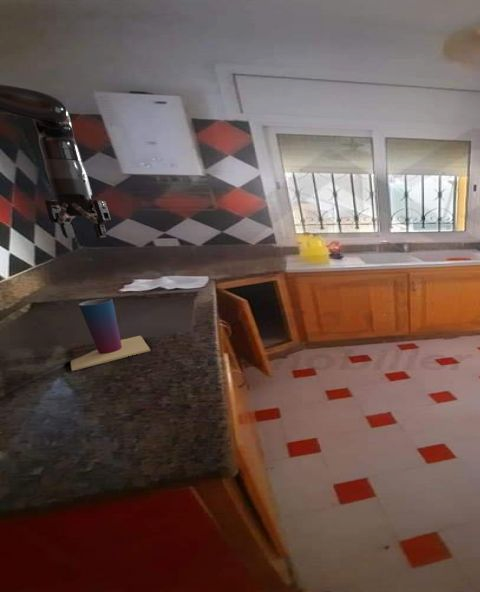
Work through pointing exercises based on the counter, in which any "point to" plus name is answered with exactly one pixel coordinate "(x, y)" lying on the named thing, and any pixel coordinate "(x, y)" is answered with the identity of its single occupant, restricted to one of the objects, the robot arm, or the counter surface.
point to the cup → (102, 324)
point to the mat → (95, 358)
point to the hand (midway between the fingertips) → (86, 237)
